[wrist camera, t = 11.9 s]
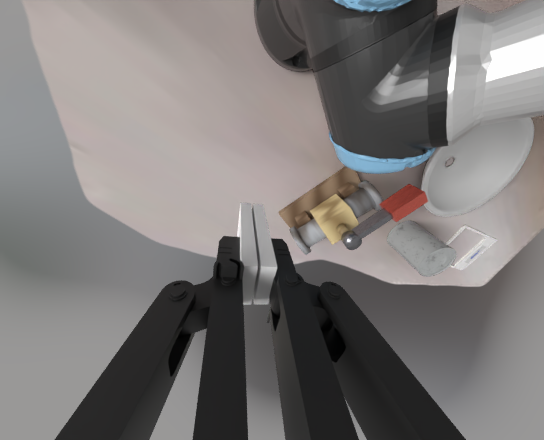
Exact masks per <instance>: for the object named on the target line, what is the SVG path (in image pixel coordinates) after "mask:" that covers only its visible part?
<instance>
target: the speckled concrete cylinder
mask: <svg viewBox="0 0 544 440" xmlns="http://www.w3.org/2000/svg"><path fill="white" fill-rule="evenodd" d="M387 242H388V244H389V245H390V246H392V247H393V248H394V249H395V250H396V251H397V252H398V253H399V254H400V255H401V256H402V257H403V258H404V259H405V260H406V261H407V262H408V263H409V264H410V265H411V266H412V267H413V268H414V269H416V270H417V271H418V273H419V274H420V275H422V276H426V277H428V276H434V275H437V274H439V273H441V272H443V271H444V270H446V269H447V268H448V267H449V266H450V265H451V264H452V263H453V262H454V260H455V258H456V251H455V250H454V249H453V248H451V247H449V246H448V245H446V244H445V243H443V242H442V241H441V240H439V239H438V238H436V237H435V236H433V235H432V234H431V233H429V232H428V231H426V230H425V229H423V228H422V227H421V226H419V225H418V224H417V223H415V222H413V221H405V222H402V223H400V224H398V225H396V226H395V227H394V228H393V229H392V230H391V231H390V233H389V235H388V238H387Z"/></svg>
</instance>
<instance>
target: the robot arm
mask: <svg viewBox="0 0 544 440" xmlns="http://www.w3.org/2000/svg"><path fill="white" fill-rule="evenodd" d="M254 16H255V23H256V28H257V31H258V35H259V37H260V40H261V42H262V44H263V46H264V48H265V50H266V51H267V53H268V54H269V55H270V57H271V58H272V59H273V60H274V61H275V62H276V63H278V64H279V65H280V66H282V67H284V68H286V69H288V70H292V71H307V70H310V69H313V71H314V76H315V80H316V83H317V87H318V91H319V94H320V98H321V102H322V106H323V109H324V113H325V117H326V120H327V124H328V128H329V137H330V140H331V142H332V143H333V144H334V147H335V151H336V154H337V156H338V159H339V160H340V161H341V162H342V163H343V164H344V165H345V166H346V167H348V168H350V169H352V170H355V171H358V172H363V173H371V174H383V173H393V172H398V171H402V170H404V168H405V167H411V168H412V167H415V166H417V165H419V164H421V163H423V162H425V161H426V160H427V159H428V158H429V157H431V155H432V154H433V152H434V151H435V149H436V148H437V147H444V146H451V145H454V144H456V143H457V142H458V141H459V140H461V139H462V138H463V137H464V136H466V135H467V134H468V133H469V132H470V131H472V130H473V129H475V128H477V127H479V126H481V125H487V124H493V123H499V122H505V121H511V120H517V119H523V118H529V117H535V116H541V115H544V0H525V1H522V2H520V3H518V4H515V5H513V6H511V7H508V8H506V9H504V10H501V11H498V12H493V13H488V12H486V11H484V10H481V9H479V8H477V7H475V6H473V5H471V4H468V3H466V4H463V5H460V6H458V7H456V8H454V9H452V10H450V11H448V12H446V13H444V14H442V15H439V16H438V15H437V0H254ZM253 296H254V304H268V302H269V298H270V304H271V307H270V310H269V314H268V318H267V323H269V321H270V323H271V331H272V338H273V346H274V354H275V362H276V370H277V377H278V385H279V393H280V400H281V408H282V415H283V424H284V432H285V439H286V440H359V439H358V436H357V433H356V430H355V427H354V424H353V421H352V418H351V415H350V413H349V410H348V407H347V404H346V401H347V403H348V405H349V407H350V408H351V410H352V412H353V414H354V416H355V418H356V420H357V422H358V424H359V425H360V427H361V429H362V431H363V433H364V435H365V437H366V439H367V440H466V439H465V438H464V437H463V436H462V434H461V433H460V432H459V431H458V429H456V427H455V426H454V424H453V423H452V422H451V421H450V419H449V418H448V417H447V416H446V415H445V414H444V412H443V411H442V410H441V408H440V407H439V406H438V405H437V403H436V402H435V401H434V400H433V399H432V398H431V396H430V395H429V394H428V392H427V391H426V390H425V389H424V387H423V386H422V385H421V384H420V382H419V381H418V380H417V379H416V378H415V377H414V375H413V374H412V373H411V371H410V370H409V369H408V368H407V367H406V365H405V364H404V363H403V361H402V360H401V359H400V358H399V357H398V356H397V354H396V353H395V352H394V351H393V349H392V348H391V347H390V345H389V344H388V343H387V342H386V341H385V339H384V338H383V337H382V336H381V334H380V333H379V332H378V331H377V329H376V328H375V327H374V326H373V324H372V323H371V322H370V321H369V320H368V318H367V317H366V316H365V315H364V314H363V312H362V311H361V310H360V308H359V307H358V306H357V305H356V304H355V302H354V301H353V300H352V299H351V297H350V296H349V295H348V294H347V292H346V291H345V290H344V289H343V288H342V287H341V286H340V285H338V284H336V283H333V282H324V283H322V285H321V286H320V287H319V286H315V285H311V284H308V283H306V282H304V280H303V278H302V277H301V276H300V275H299V274H298V273H296V271H295V267H294V264H293V261H292V258H291V256H290V252H289V249H288V246H287V244H286V243H285V242H284V241H283V239H272V238H271V237H270V232H269V228H268V224H267V219H266V215H265V211H264V206H263V204H253V208H252V209H251V203H242V202H241V204H240V213H239V222H238V232H237V237H229V236H223V237H222V239H221V240H220V241H219V248H218V255H217V261H216V262H215V264H214V271H213V277H212V278H211V279H210V280H209V281H206V282H205V283H202V284H198V285H194V286H193V285H192V283H190V282H188V281H175V282H172V283H170V284H168V285H167V286H165V288H163V289H162V291H161V292H160V293H159V295H158V296H157V298H156V299H155V300H154V302H153V303H152V305H151V306H150V307H149V309H148V310H147V312H146V313H145V314H144V316H143V317H142V319H141V320H140V321H139V323H138V324H137V326H136V327H135V328H134V330H133V331H132V333H131V334H130V335H129V337H128V338H127V340H126V341H125V342H124V344H123V345H122V346H121V348H120V349H119V351H118V352H117V354H116V355H115V356H114V358H113V359H112V360H111V362H110V363H109V365H108V366H107V368H106V369H105V370H104V372H103V373H102V374H101V376H100V377H99V379H98V380H97V381H96V383H95V384H94V386H93V387H92V389H91V390H90V391H89V393H88V394H87V395H86V397H85V398H84V399H83V401H82V402H81V404H80V405H79V407H78V408H77V409H76V411H75V412H74V414H73V415H72V416H71V418H70V419H69V421H68V422H67V423H66V425H65V426H64V427H63V429H62V430H61V432H60V433H59V434H58V436H57V437H56V439H55V440H149V439H150V437H151V434H152V432H153V430H154V427H155V425H156V423H157V420H158V418H159V416H160V413H161V411H162V409H163V406H164V404H165V402H166V399H167V397H168V395H169V392H170V390H171V388H172V385H173V383H174V381H175V378H176V376H177V374H178V371H179V369H180V367H181V365H182V362H183V360H184V358H185V355H186V353H187V351H188V348H189V346H190V344H191V341H192V339H193V337H194V334H195V332H198V331H200V330H203V329H206V328H207V332H206V340H205V348H204V355H203V363H202V371H201V379H200V387H199V394H198V403H197V410H196V418H195V426H194V433H193V440H248V426H247V397H246V368H245V340H244V312H243V305H247V304H248V305H250V304H251V302H252V297H253ZM344 397H345V398H344ZM345 399H346V401H345Z"/></svg>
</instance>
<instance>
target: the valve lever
mask: <svg viewBox="0 0 544 440" xmlns="http://www.w3.org/2000/svg"><path fill="white" fill-rule="evenodd" d="M427 202H428V199H427V196H426V193H425V192H424V191H422V190H420V189H418V188H416V187H414V186H412V185H410V184H408V185H407V186H405V187H404V188H402V189H401V190H399V191H398V192H396V193H395V194H393V195H392V196H390V197H389V198H388V199H386V200H385V201H383V202H382V203H380V204H379V205H380V207H381V210H380V211H378V212H377V213H375V214H374V215H372V216H371V217H369V218H368V219H366V220H365V221H363V222H362V223H360V224H359V225H357V226H356V227H354V228H353V229H352V230H348V231H346V232H344V233H343V234H342V236H341V240H342V242H343V243H344V245H345V246H346V247H347V249H349V250H354V249H357V248H358V247H359V246H360V245H361V243H362V240H361V239H362V238H364V237H365V236H367V235H368V234H370V233H371V232H373V231H374V230H376V229H377V228H379V227H380V226H382V225H383V224H385V223H387V222H388V221H390V220H391V219H393V220H394V221H395V222H397V221H399V220H400V219H402V218H403V217H405V216H407V215H408V214H410V213H411V212H413V211H414V210H416V209H417V208H419V207H420V206H422V205H424V204H425V203H427Z"/></svg>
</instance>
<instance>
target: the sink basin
mask: <svg viewBox="0 0 544 440" xmlns="http://www.w3.org/2000/svg"><path fill="white" fill-rule="evenodd" d="M533 138H534V125H533V121H532V119H531V117H529V118H523V119H517V120H511V121H505V122H499V123H493V124H487V125H481V126H479V127H477V128H475V129H473V130H472V131H470V132H469V133H468V134H467V135H466V136H464V137H463V138H462V139H461V140H459V141H458V142H457V143H456V144H454V145H451V146H444V147H437V148H436V150H435V151H434V152H433V154H432V155H431V157H430V158H429V160H428V162H427V164H426V166H425V169H424V172H423V177H422V184H421V190H422V191H424V192H425V193H426V196H427V199H428V202H427V203H425V204H424V206H425V208H426V209H427V210H428V211H429V212H431V213H432V214H434V215H437V216H441V217H452V216H458V215H462V214H465V213H467V212H470V211H472V210H474V209H476V208H478V207H480V206H482V205H483V204H485V203H486V202H488V201H489V200H491V199H492V198H493V197H494V196H496V195H497V194H498V193H499V192H500V191H501V190H502V189H504V188H505V187H506V186H507V185H508V183H509V182H510V181H511V180H512V179H513V178H514V177H515V175H516V174H517V173H518V171H519V170H520V168H521V167H522V165H523V164H524V162H525V160H526V158H527V156H528V154H529V152H530V149H531V147H532V143H533ZM451 157H453V158H454V162H453V164H452V165H450V166H449V167H446V166H445V163H446V161H447V160H448V159H449V158H451Z"/></svg>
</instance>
